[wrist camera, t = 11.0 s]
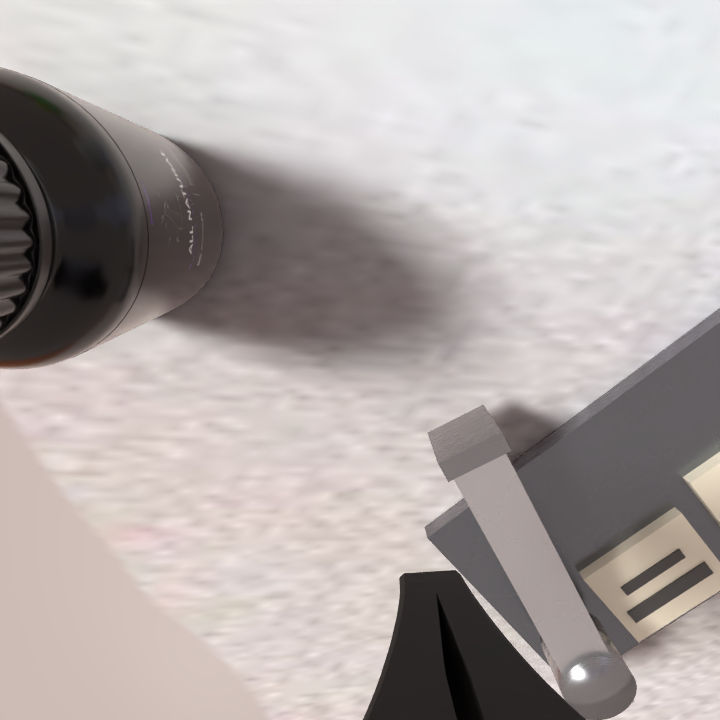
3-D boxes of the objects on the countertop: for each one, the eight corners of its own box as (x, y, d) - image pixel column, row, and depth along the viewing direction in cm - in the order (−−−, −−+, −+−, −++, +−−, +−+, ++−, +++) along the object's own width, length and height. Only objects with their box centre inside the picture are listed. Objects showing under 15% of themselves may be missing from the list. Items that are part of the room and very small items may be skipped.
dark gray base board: (780, 263, 21) (810, 266, 19) (901, 455, 23) (935, 470, 22) (424, 527, 24) (429, 546, 22) (563, 673, 26) (575, 698, 25)
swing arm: (613, 647, 23) (647, 704, 21) (555, 672, 24) (581, 731, 21) (487, 402, 20) (508, 431, 17) (423, 435, 20) (433, 468, 18)
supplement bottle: (264, 218, 20) (142, 225, 8) (155, 346, 21) (-81, 506, 10) (115, 82, 19) (-274, -134, 7) (9, 227, 20) (-469, 247, 8)
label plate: (674, 506, 23) (683, 514, 22) (727, 573, 24) (736, 582, 23) (578, 572, 23) (584, 581, 23) (633, 634, 24) (640, 644, 24)
